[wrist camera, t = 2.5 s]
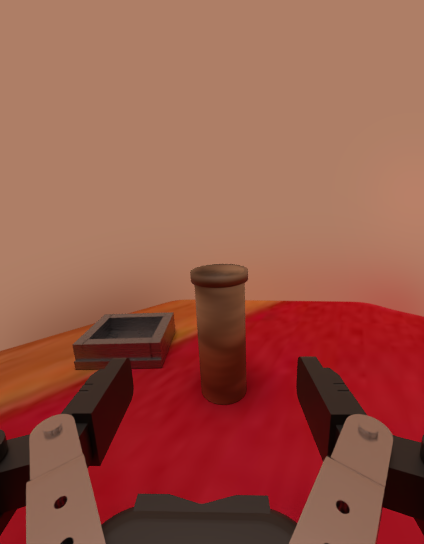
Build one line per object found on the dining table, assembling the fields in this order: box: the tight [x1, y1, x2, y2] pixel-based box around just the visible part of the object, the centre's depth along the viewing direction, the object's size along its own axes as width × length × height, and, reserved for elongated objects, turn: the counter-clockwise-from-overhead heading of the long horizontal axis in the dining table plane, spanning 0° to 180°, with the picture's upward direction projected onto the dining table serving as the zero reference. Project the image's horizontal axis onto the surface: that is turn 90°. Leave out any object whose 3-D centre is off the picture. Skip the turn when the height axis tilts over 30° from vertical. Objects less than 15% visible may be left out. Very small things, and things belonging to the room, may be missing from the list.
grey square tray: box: [73, 313, 175, 370], centre depth 34 cm, size 10×9×3 cm
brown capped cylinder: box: [190, 264, 248, 405], centre depth 24 cm, size 5×5×12 cm
